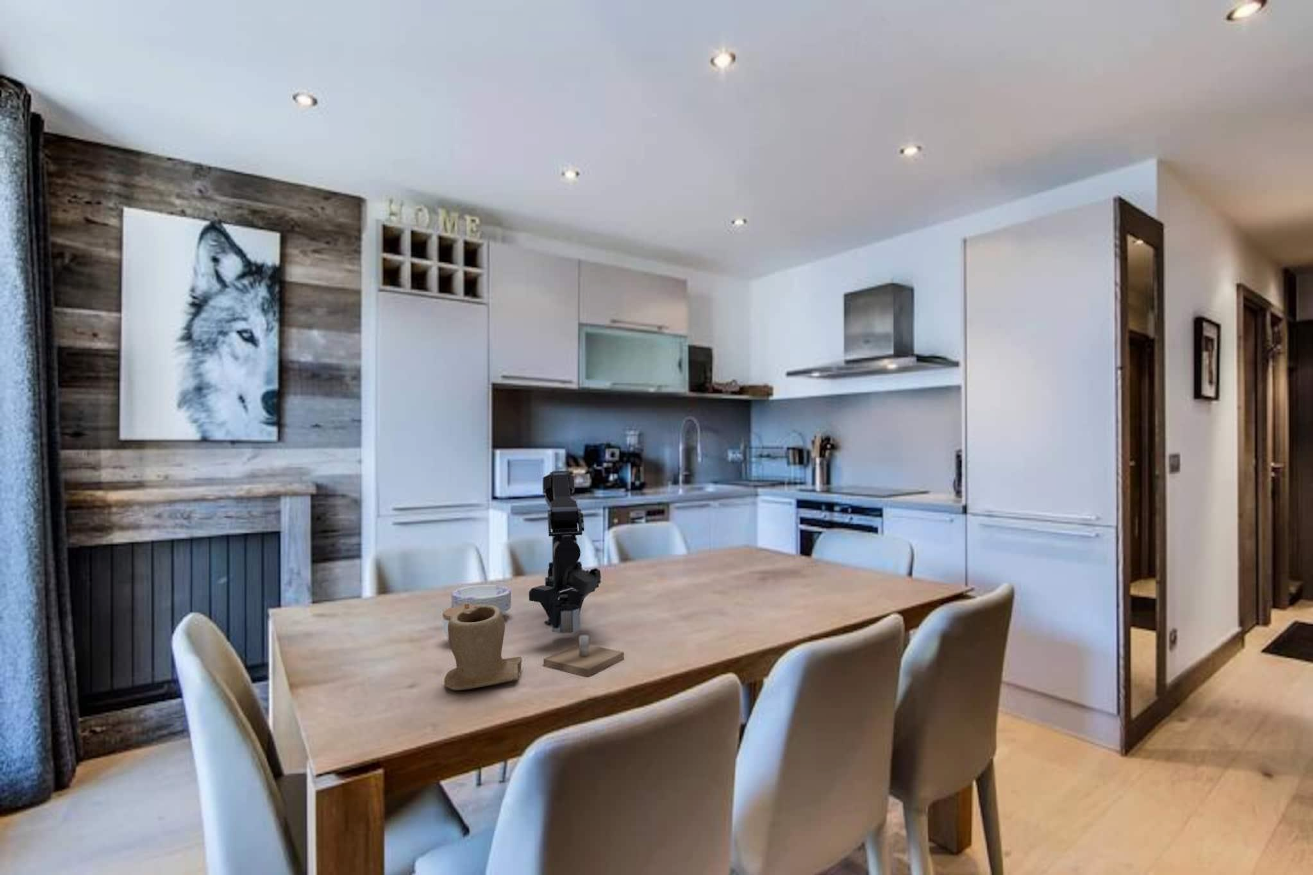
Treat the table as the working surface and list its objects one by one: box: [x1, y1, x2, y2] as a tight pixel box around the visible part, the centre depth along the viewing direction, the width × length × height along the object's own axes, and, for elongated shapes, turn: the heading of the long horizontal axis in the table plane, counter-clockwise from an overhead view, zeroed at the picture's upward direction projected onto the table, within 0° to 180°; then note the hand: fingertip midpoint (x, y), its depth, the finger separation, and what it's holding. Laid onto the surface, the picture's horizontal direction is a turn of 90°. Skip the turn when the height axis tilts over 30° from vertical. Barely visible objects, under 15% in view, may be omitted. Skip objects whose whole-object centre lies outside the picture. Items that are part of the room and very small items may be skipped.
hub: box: [551, 604, 581, 634], centre depth 147 cm, size 6×6×5 cm
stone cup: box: [443, 605, 523, 691], centre depth 122 cm, size 15×12×15 cm
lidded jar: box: [442, 603, 478, 640], centre depth 147 cm, size 11×11×9 cm
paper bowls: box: [450, 584, 512, 615], centre depth 166 cm, size 15×15×8 cm
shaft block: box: [543, 634, 625, 678], centre depth 133 cm, size 12×12×6 cm
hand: (565, 624), depth 147 cm, fingers closed on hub, 6 cm apart
